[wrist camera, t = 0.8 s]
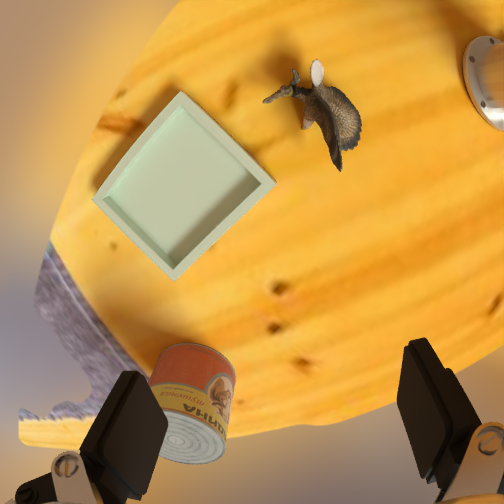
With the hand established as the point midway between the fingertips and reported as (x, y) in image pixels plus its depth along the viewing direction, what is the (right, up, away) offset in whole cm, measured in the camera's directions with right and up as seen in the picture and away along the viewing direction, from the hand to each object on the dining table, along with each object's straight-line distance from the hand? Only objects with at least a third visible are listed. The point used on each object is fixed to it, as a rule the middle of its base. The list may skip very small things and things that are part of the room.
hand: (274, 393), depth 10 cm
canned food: (-9, -12, +31) cm, 34 cm away
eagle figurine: (+6, +18, +18) cm, 27 cm away
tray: (-8, +12, +22) cm, 26 cm away
